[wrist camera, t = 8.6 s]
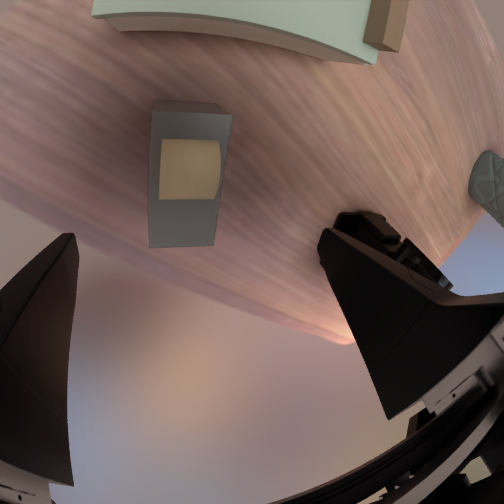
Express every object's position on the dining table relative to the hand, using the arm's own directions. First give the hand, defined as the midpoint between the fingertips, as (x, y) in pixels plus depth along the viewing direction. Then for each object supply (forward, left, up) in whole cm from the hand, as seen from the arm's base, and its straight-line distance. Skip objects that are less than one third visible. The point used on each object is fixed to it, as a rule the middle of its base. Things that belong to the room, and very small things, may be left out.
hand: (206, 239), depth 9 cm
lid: (+14, -2, -6) cm, 15 cm away
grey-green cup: (+4, -42, -11) cm, 44 cm away
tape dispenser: (-1, 0, -11) cm, 11 cm away
